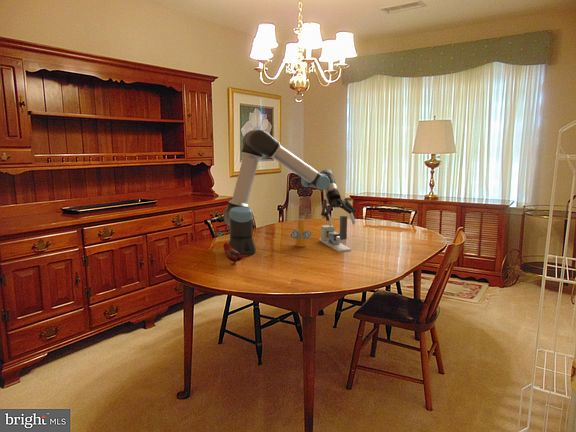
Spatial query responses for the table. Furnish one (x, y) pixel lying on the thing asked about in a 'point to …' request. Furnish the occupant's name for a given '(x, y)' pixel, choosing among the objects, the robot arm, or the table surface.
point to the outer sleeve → (331, 238)
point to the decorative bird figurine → (232, 254)
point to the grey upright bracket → (342, 230)
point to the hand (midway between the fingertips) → (342, 224)
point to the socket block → (326, 231)
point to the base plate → (336, 246)
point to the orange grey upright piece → (301, 233)
